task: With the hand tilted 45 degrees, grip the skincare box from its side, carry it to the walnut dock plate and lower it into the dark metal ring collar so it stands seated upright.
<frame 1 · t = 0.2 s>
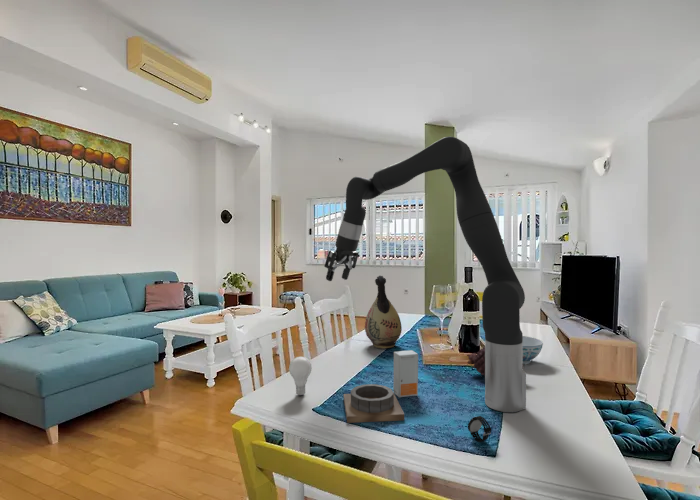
hand: (336, 279, 134), 31 cm above the table, tool tilted 20°, fingers open, 8 cm apart
chinaware: (519, 361, 140), on the table
pine cone: (493, 377, 123), on the table
ceramic jug: (383, 347, 161), on the table
smartwatch: (478, 441, 84), on the table
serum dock: (372, 409, 100), on the table
skincare box: (405, 394, 110), on the table
lightbulb: (300, 396, 110), on the table
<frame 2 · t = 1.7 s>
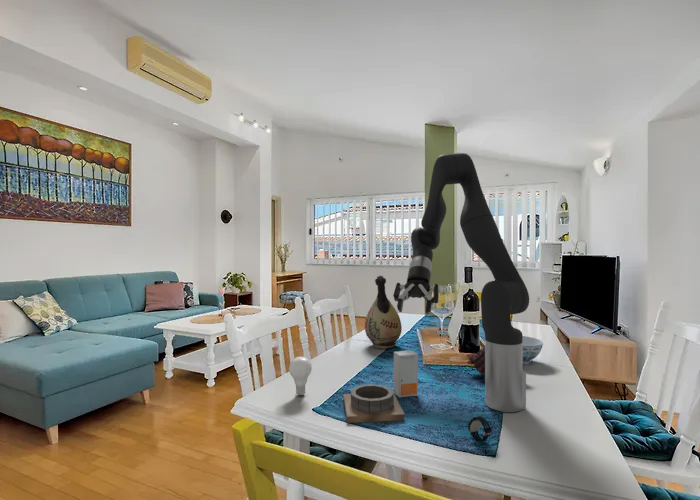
hand: (413, 311, 120), 22 cm above the table, tool tilted 45°, fingers open, 8 cm apart
nothing on the table moved.
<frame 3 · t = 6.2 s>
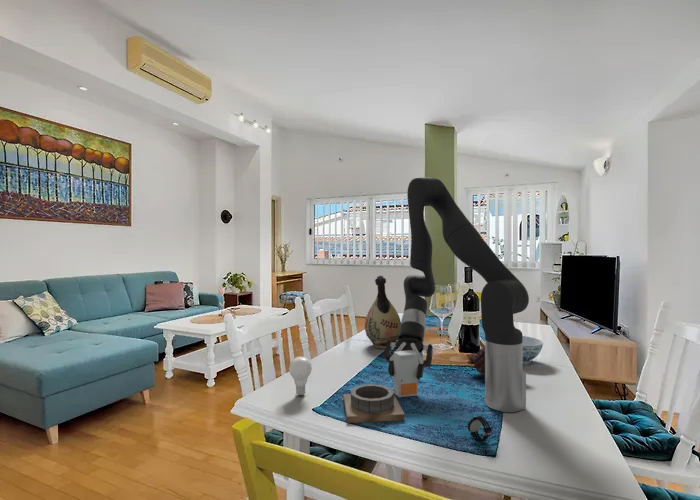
hand: (404, 376, 108), 6 cm above the table, tool tilted 45°, fingers closed on skincare box, 7 cm apart
skincare box: (405, 394, 110), on the table, touching gripper
everything else where it was.
when the fingers open (8 cm above the table, at t = 12.8 s): skincare box drops 1 cm, resting on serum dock.
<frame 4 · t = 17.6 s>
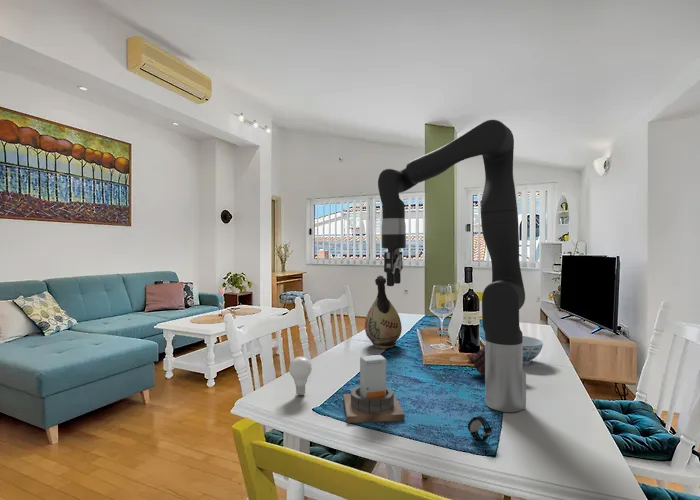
hand: (393, 284, 121), 30 cm above the table, tool pointing down, fingers open, 8 cm apart
skincare box: (373, 404, 100), point 1 cm above the table, touching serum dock
everything else where it was.
at the end: skincare box 0.3 cm off-centre on the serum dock, point 1.3 cm above the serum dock's base; skincare box tilted 0°; the gripper is holding nothing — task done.
